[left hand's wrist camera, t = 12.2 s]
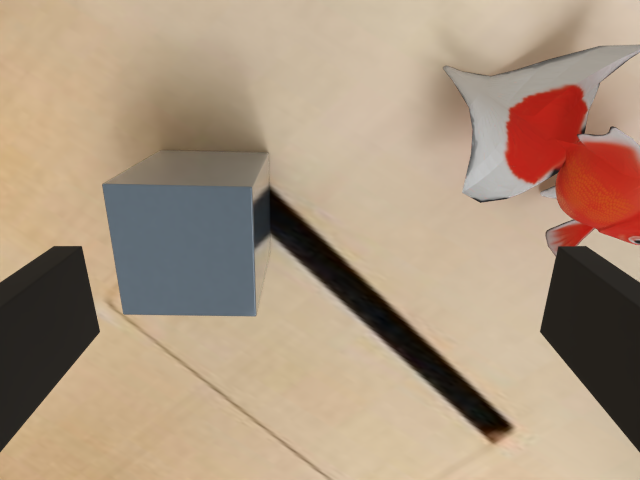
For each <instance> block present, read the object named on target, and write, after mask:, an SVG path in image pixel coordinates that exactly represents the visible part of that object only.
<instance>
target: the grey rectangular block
mask: <svg viewBox="0 0 640 480" xmlns="http://www.w3.org/2000/svg"><path fill="white" fill-rule="evenodd" d="M102 187H103V193H104V199H105V205H106V211H107V217H108V223H109V230H110V236H111V242H112V248H113V254H114V260H115V266H116V272H117V278H118V285H119V291H120V297H121V303H122V309H123V314H124V315H197V316H256V315H257V311H258V306H259V302H260V297H261V293H262V288H263V284H264V279H265V275H266V270H267V266H268V261H269V257H270V252H271V250H270V194H269V153H267V152H222V151H178V150H160V151H158V152H156V153H155V154H153V155H151V156H150V157H148V158H146V159H144V160H143V161H141V162H139V163H138V164H136V165H134V166H132V167H131V168H129V169H127V170H126V171H124V172H122V173H120V174H119V175H117V176H115V177H114V178H112V179H110V180H108V181H107V182H105V183H103V184H102Z"/></svg>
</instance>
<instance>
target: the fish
mask: <svg viewBox="0 0 640 480" xmlns="http://www.w3.org/2000/svg"><path fill="white" fill-rule="evenodd" d="M638 53H640V45H617V46H598V47H595V48H591V49H587V50H583V51H579V52H576V53H572V54H568V55H564V56H560V57H557V58H553V59H549V60H546V61H543V62H540V63H536V64H533V65H530V66H527V67H524V68H521V69H518V70H514V71H510V72H506V73H502V74H498V75H494V76H486V75H480V74H474V73H468V72H462V71H459V70H457V69H455V68H452V67H449V66H445V67H443V69H444V70H445V72H446V73H447V74H448V76H449V77H450V78H451V79H452V80H453V82H454V84H455V85H456V87H457V89H458V90H459V92H460V93H461V95H462V97H463V98H464V100H465V102H466V103H467V105H468V107H469V110H470V116H471V123H472V129H473V130H472V149H471V157H470V161H469V166H468V170H467V174H466V179H465V183H464V187H463V191H462V193H464V194H466V195H468V196H469V197H471V198H473V199H475V200H477V201H478V202H480V203H481V202H488V201H495V200H502V199H507V198H510V197H513V196H515V195H518V194H521V193H523V192H525V191H527V190H529V189H531V188H532V187H534V186H536V185H538V184H540V183H541V182H543V181H545V180H546V179H548V178H550V177H551V176H553V175H555V174H557V173H558V175H557V179H556V186H553V187H551V188H549V189H547V190H544V191H542V192H541V193H540V194H541V195H542V196H544V197H550V198H557V200H558V203H559V205H560V207H561V209H562V210H563V211H564V212H565V213H566V214H567V215H569V216H570V217H571V218H573V219H574V220H571V221H568V222H566V223H563V224H561V225H559V226H556V227H554V228H551V229H549V230H547V231H546V239H547V243H548V247H549V248H550V249H551V251H552V252H553V253H554V255H555V256H556V255H557V250H558V246H577V245H578V244H579V243H580V242H581V241H582V240H583V239H584V238H585V237H586V236H587V235H588V234H589V233H590V232H591V231H593V230H594V229H595V228H596V229H598V231H599V232H600V233H603V234H606V235H609V236H612V237H615V238H618V239H620V240H623V241H625V242H629V243H632V244H635V245H640V146H639V145H638V144H637V143H636V142H635V141H634V140H633V139H632V138H631V137H630V136H628V135H626V134H625V133H623V132H622V131H620V130H619V129H617V128H616V127H610V130H609V132H608V133H607V134H605V135H591V134H584V133H585V128H586V122H587V117H588V111H589V109H590V107H591V104H592V102H593V100H594V98H595V95H596V93H597V90H598V87H599V84H600V82H601V81H602V80H604V79H605V78H606V77H607V76H609V75H610V74H611V73H612V72H614V71H615V70H616V69H618V68H619V67H620V66H621V65H623V64H624V63H625V62H626V61H628V60H629V59H630V58H632V57H633V56H635V55H636V54H638ZM579 141H580V142H579Z"/></svg>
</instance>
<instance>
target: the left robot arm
mask: <svg viewBox="0 0 640 480" xmlns="http://www.w3.org/2000/svg"><path fill="white" fill-rule="evenodd" d="M99 332H100V330H99V325H98V320H97V316H96V311H95V306H94V302H93V297H92V292H91V287H90V283H89V278H88V273H87V269H86V264H85V259H84V255H83V250H82V246H54V247H52V248H51V249H49V250H48V251H46V252H45V253H43V254H42V255H40V256H39V257H37V258H36V259H34V260H33V261H31V262H30V263H28V264H27V265H25V266H24V267H23V268H21V269H20V270H18V271H17V272H15V273H14V274H12V275H11V276H9V277H8V278H6V279H5V280H3V281H2V282H0V452H1V451H2V449H3V448H4V447H5V446H6V445H7V443H8V442H9V441H10V440H11V439H12V437H13V436H14V435H15V434H16V433H17V431H18V430H19V429H20V428H21V427H22V425H23V424H24V423H25V422H26V421H27V419H28V418H29V417H30V416H31V414H32V413H33V412H34V411H35V410H36V408H37V407H38V406H39V405H40V404H41V402H42V401H43V400H44V399H45V398H46V396H47V395H48V394H49V393H50V392H51V390H52V389H53V388H54V387H55V386H56V384H57V383H58V382H59V381H60V379H61V378H62V377H63V376H64V375H65V373H66V372H67V371H68V370H69V369H70V367H71V366H72V365H73V364H74V363H75V361H76V360H77V359H78V358H79V357H80V355H81V354H82V353H83V352H84V350H85V349H86V348H87V347H88V346H89V344H90V343H91V342H92V341H93V340H94V338H95V337H96V336H97V335H98V334H99ZM540 332H541V334H542V335H543V336H544V337H545V338H546V340H547V341H548V342H549V343H550V344H551V346H552V347H553V348H554V349H555V350H556V352H557V353H558V354H559V355H560V357H561V358H562V359H563V360H564V361H565V363H566V364H567V365H568V366H569V367H570V369H571V370H572V371H573V372H574V373H575V375H576V376H577V377H578V378H579V379H580V381H581V382H582V383H583V384H584V386H585V387H586V388H587V389H588V390H589V392H590V393H591V394H592V395H593V396H594V398H595V399H596V400H597V401H598V402H599V404H600V405H601V406H602V407H603V408H604V410H605V411H606V412H607V413H608V414H609V416H610V417H611V418H612V419H613V421H614V422H615V423H616V424H617V425H618V427H619V428H620V429H621V430H622V431H623V433H624V434H625V435H626V436H627V437H628V439H629V440H630V441H631V442H632V443H633V445H634V446H635V447H636V448H637V449H638V451H639V452H640V282H638V281H637V280H635V279H634V278H632V277H631V276H629V275H628V274H626V273H625V272H623V271H622V270H620V269H619V268H617V267H616V266H615V265H613V264H612V263H610V262H609V261H607V260H606V259H604V258H603V257H601V256H600V255H598V254H597V253H595V252H594V251H592V250H591V249H589V248H588V247H586V246H558V250H557V255H556V259H555V264H554V269H553V273H552V278H551V283H550V287H549V292H548V297H547V302H546V306H545V311H544V316H543V320H542V325H541V330H540Z"/></svg>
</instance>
